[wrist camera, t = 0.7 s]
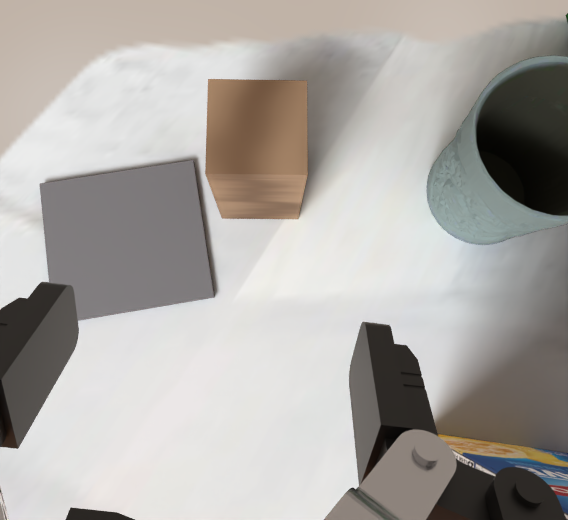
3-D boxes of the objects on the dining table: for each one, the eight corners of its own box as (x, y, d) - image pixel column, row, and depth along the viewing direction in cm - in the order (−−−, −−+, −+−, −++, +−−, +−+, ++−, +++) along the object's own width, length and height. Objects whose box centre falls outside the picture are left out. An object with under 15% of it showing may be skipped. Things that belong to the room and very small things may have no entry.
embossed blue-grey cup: (549, 156, 41) (661, 80, 30) (525, 273, 40) (633, 242, 28) (430, 122, 42) (493, 34, 30) (401, 237, 40) (455, 191, 28)
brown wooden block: (297, 147, 41) (306, 80, 31) (298, 219, 40) (307, 174, 30) (223, 146, 41) (208, 79, 31) (222, 218, 40) (205, 173, 30)
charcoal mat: (194, 162, 40) (192, 159, 40) (214, 297, 39) (213, 296, 38) (42, 186, 40) (39, 183, 39) (56, 324, 38) (53, 323, 37)
